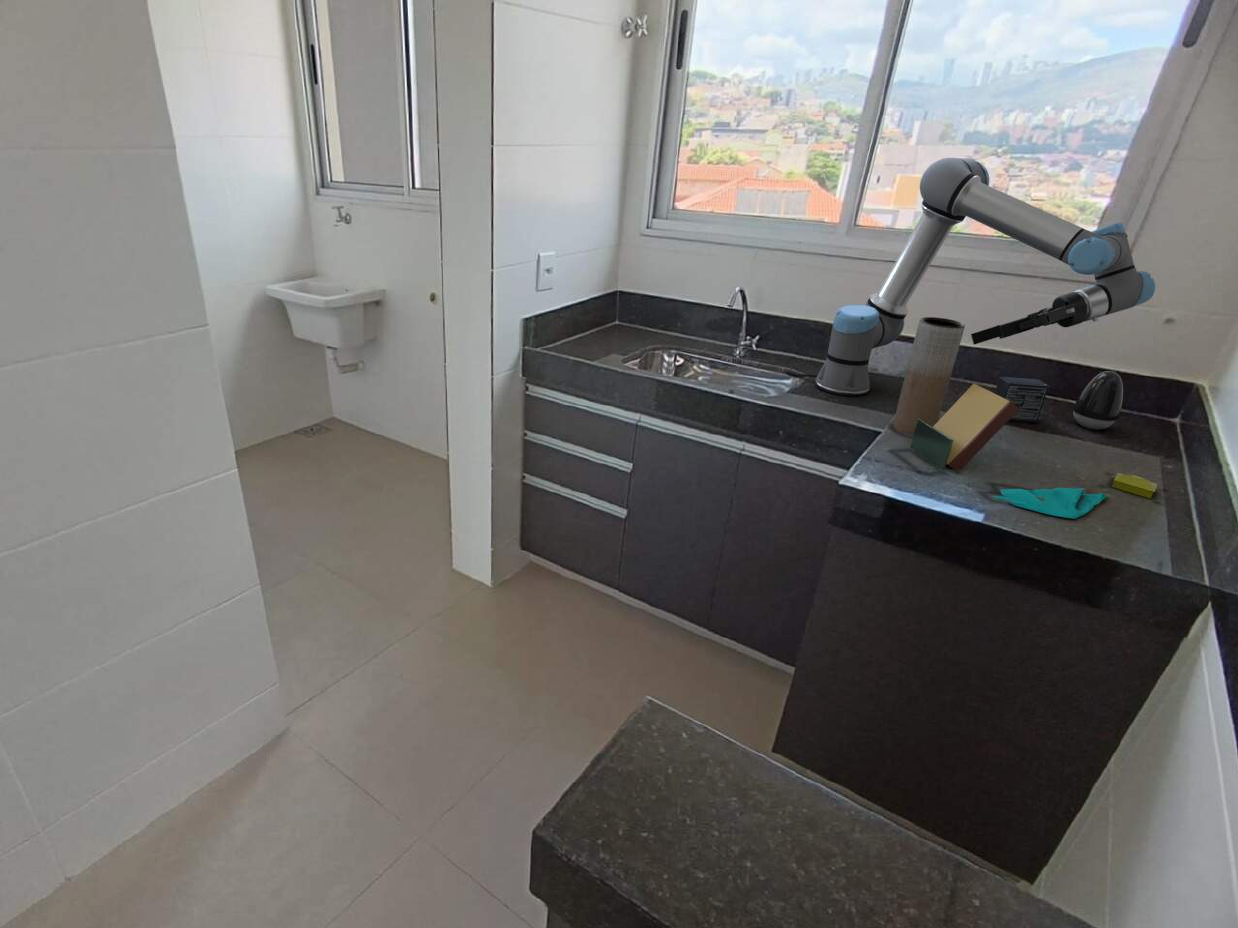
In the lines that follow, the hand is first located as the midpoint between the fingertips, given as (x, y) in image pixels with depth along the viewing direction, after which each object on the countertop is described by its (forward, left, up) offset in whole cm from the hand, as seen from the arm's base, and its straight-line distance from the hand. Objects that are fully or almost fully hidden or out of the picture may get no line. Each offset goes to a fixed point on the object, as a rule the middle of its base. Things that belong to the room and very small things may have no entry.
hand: (986, 336), depth 154 cm
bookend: (-2, -24, -25) cm, 35 cm away
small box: (+7, +26, -26) cm, 37 cm away
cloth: (+25, -24, -26) cm, 43 cm away
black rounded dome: (+24, +36, -26) cm, 51 cm away
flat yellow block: (+37, -2, -26) cm, 45 cm away
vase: (-9, -6, -26) cm, 28 cm away
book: (+1, -21, -25) cm, 32 cm away
